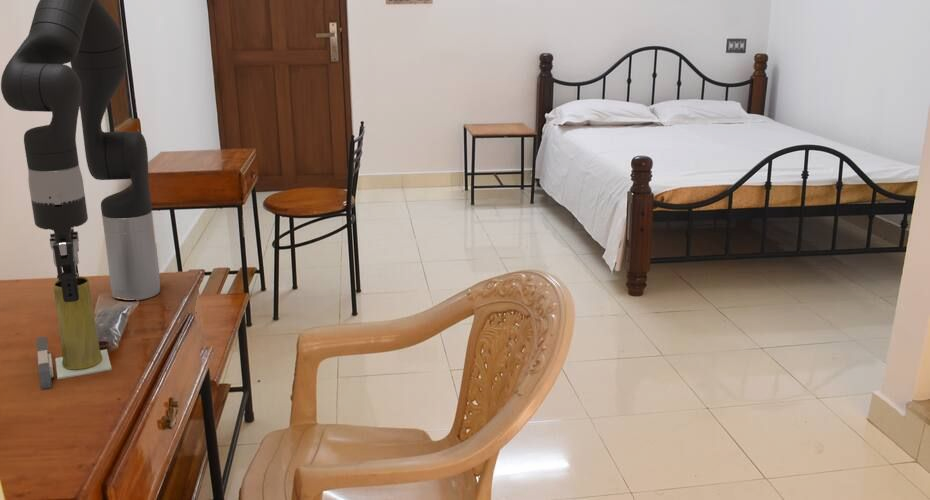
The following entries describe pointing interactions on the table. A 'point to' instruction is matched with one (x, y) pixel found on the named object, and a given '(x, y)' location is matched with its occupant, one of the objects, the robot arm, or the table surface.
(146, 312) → the table surface
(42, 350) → the price rail
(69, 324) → the vase
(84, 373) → the pad
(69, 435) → the table surface
